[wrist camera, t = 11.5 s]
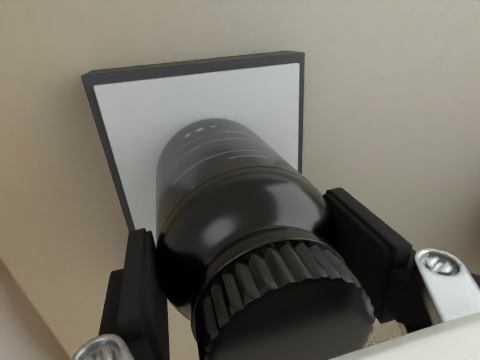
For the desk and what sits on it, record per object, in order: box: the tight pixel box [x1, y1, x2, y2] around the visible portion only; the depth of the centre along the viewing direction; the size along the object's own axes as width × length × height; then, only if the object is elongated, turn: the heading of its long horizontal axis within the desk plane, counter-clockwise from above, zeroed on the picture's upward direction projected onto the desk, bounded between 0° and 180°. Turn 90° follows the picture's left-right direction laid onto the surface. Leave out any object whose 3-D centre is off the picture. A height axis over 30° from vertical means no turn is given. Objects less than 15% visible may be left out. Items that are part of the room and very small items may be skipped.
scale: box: [81, 51, 305, 245], centre depth 20 cm, size 12×14×3 cm
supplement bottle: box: [156, 118, 375, 360], centre depth 13 cm, size 7×7×12 cm
